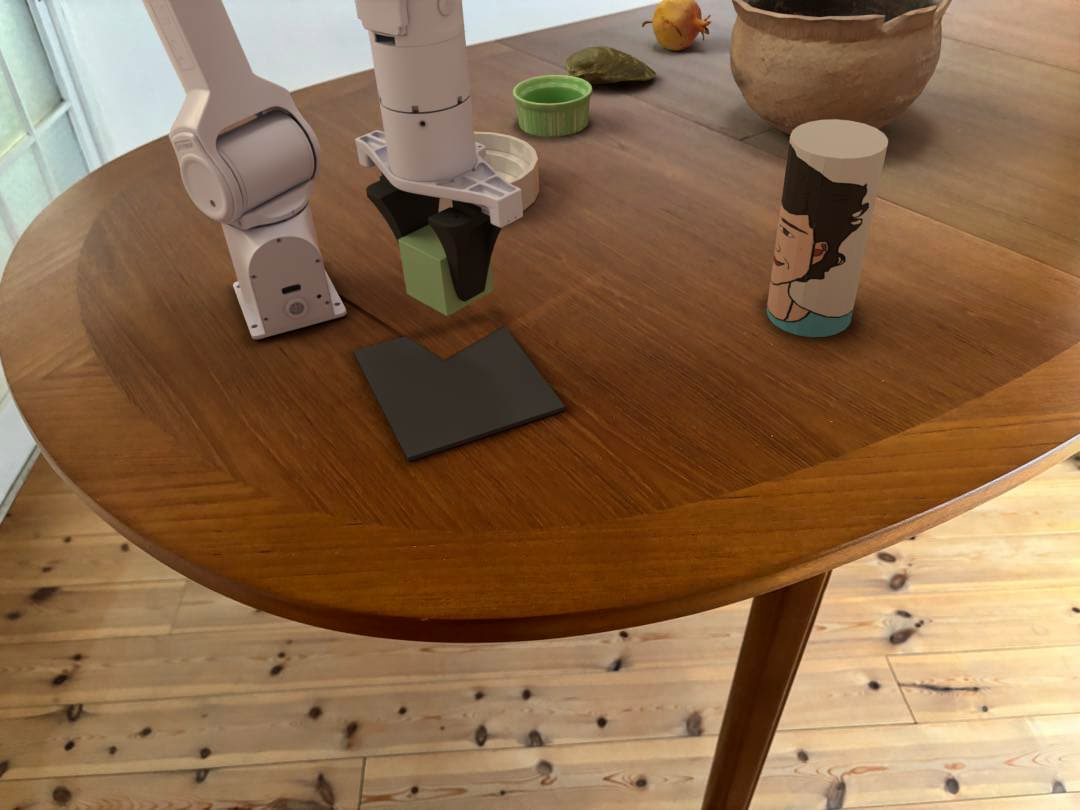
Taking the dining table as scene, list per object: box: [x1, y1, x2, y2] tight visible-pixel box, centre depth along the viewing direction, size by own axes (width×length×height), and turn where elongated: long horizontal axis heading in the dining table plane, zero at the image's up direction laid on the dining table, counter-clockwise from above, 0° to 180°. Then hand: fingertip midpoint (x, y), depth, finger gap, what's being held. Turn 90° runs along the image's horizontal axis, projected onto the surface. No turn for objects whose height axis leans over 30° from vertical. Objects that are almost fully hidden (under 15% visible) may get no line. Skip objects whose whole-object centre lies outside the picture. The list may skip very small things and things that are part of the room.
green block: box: [397, 224, 495, 317], centre depth 65 cm, size 4×4×4 cm
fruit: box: [641, 0, 712, 52], centre depth 123 cm, size 7×7×10 cm
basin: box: [439, 131, 540, 212], centre depth 92 cm, size 14×14×4 cm
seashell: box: [564, 45, 657, 85], centre depth 115 cm, size 10×7×10 cm
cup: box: [766, 119, 889, 338], centre depth 70 cm, size 7×7×15 cm
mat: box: [353, 325, 566, 462], centre depth 70 cm, size 14×12×1 cm
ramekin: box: [512, 74, 593, 138], centre depth 105 cm, size 9×9×4 cm
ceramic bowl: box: [729, 0, 953, 136], centre depth 98 cm, size 22×22×15 cm
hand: (448, 282), depth 66 cm, fingers closed on green block, 4 cm apart
